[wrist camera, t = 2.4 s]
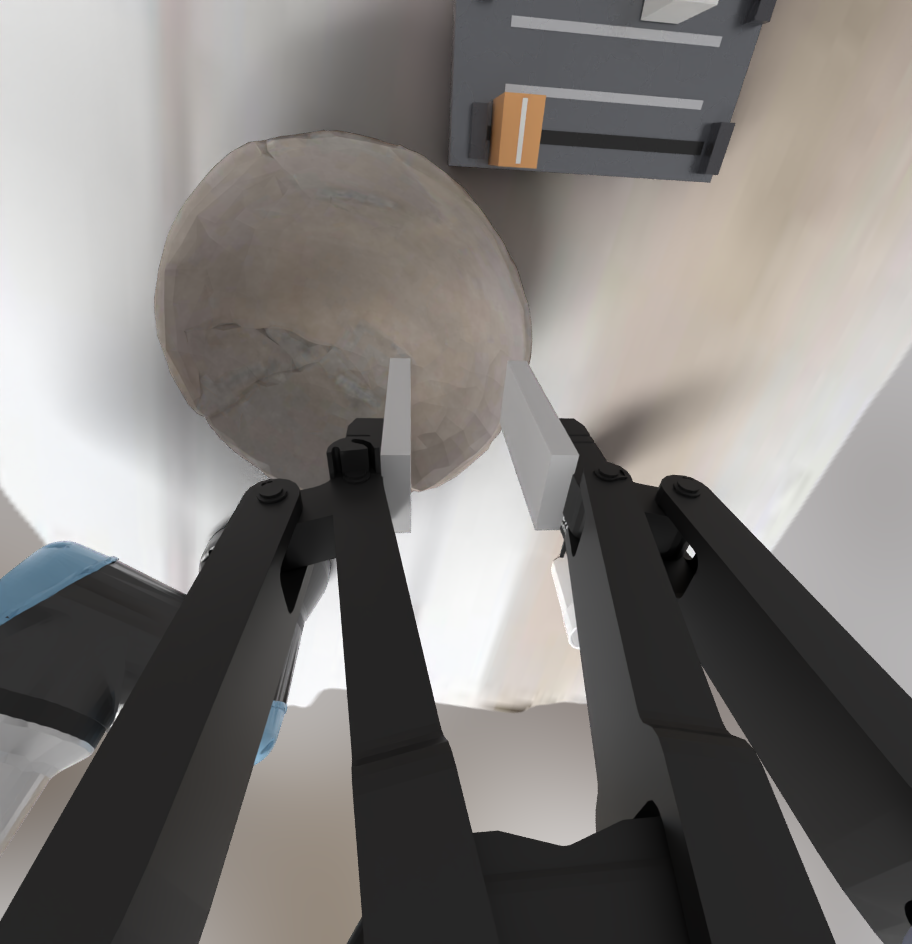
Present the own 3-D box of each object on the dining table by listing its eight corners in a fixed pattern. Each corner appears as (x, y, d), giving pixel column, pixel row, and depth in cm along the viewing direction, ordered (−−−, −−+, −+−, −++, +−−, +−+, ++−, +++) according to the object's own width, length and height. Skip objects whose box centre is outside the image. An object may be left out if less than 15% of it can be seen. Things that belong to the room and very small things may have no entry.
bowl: (274, 462, 47) (246, 525, 39) (141, 165, 32) (49, 169, 24) (514, 426, 47) (535, 482, 39) (499, 111, 32) (530, 97, 24)
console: (448, 164, 33) (451, 165, 31) (456, -81, 26) (461, -106, 24) (696, 181, 35) (719, 183, 33) (766, -43, 28) (802, -63, 26)
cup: (587, 542, 59) (618, 611, 50) (596, 572, 63) (626, 641, 54) (540, 557, 60) (562, 627, 51) (551, 586, 64) (574, 656, 55)
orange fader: (488, 164, 32) (498, 166, 28) (493, 99, 29) (505, 91, 26) (522, 166, 32) (536, 168, 28) (529, 102, 30) (546, 95, 26)
